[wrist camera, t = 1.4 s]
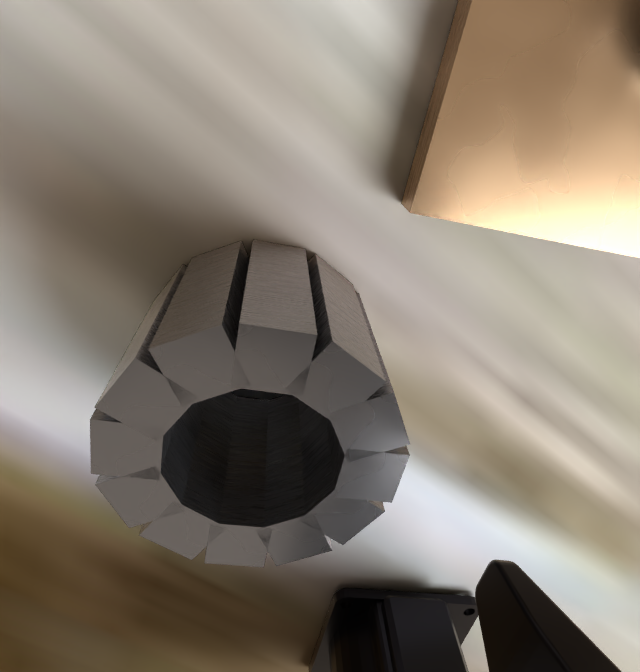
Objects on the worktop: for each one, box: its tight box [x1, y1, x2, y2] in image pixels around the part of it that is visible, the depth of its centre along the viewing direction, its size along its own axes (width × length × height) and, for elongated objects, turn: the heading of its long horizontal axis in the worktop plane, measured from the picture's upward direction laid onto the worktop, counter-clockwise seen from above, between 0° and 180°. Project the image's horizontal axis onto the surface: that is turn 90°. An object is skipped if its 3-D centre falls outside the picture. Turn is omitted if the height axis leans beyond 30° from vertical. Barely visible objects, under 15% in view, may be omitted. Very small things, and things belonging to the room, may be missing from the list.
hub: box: [90, 240, 410, 567], centre depth 13 cm, size 7×7×5 cm
